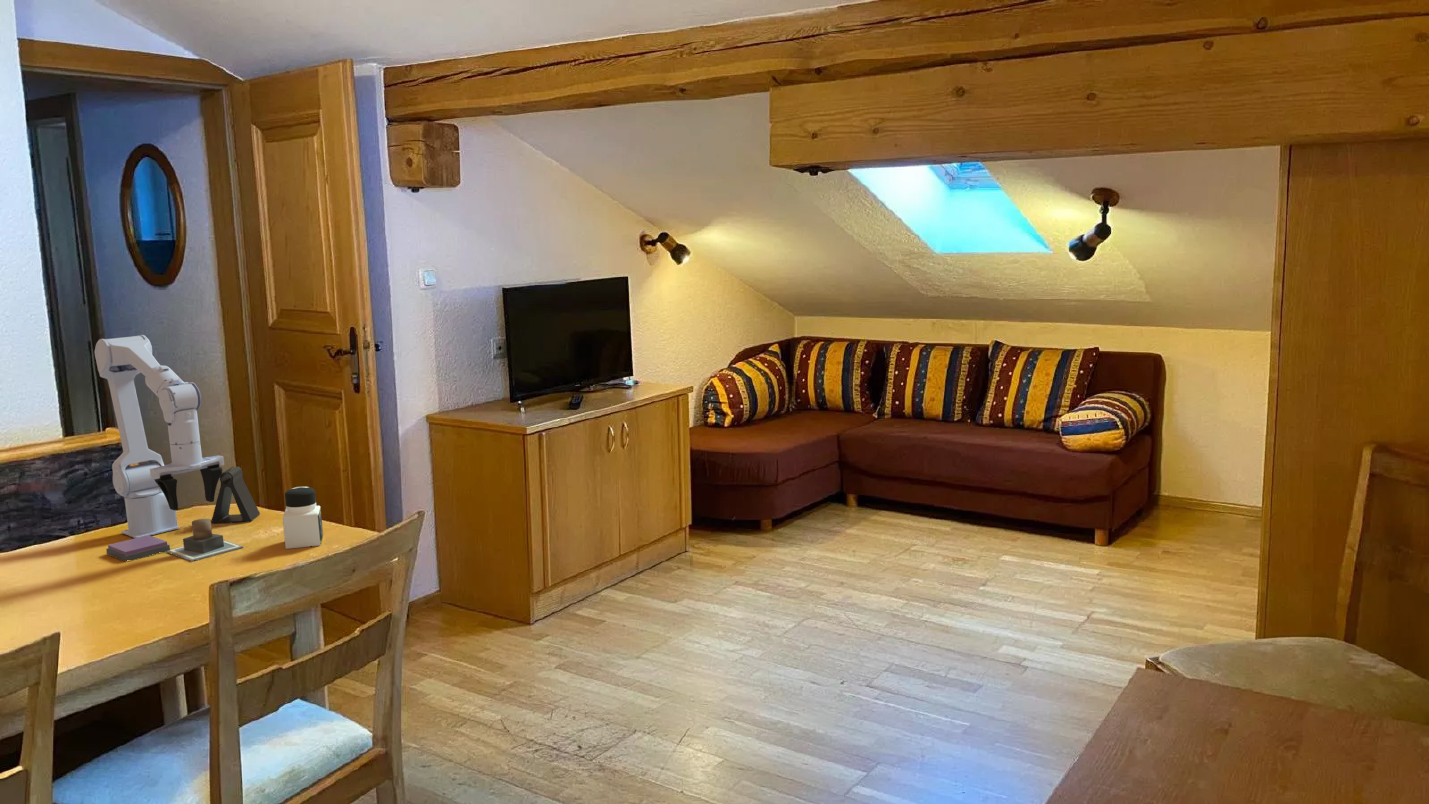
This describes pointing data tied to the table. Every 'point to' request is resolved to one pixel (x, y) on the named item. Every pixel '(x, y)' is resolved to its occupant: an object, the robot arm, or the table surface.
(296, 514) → the medicine bottle
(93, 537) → the table surface
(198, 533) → the stamp
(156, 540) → the ink pad
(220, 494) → the dark grey triangular stand
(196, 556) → the board
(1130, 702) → the table surface
